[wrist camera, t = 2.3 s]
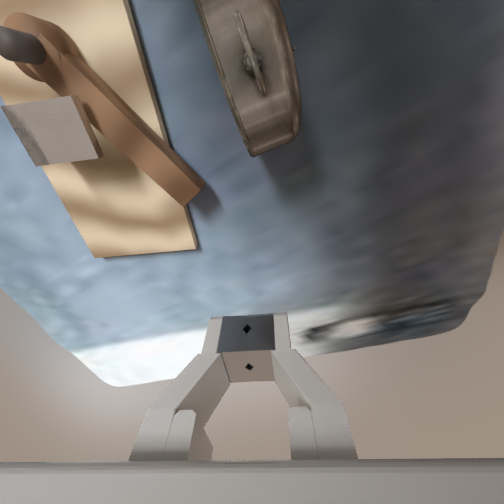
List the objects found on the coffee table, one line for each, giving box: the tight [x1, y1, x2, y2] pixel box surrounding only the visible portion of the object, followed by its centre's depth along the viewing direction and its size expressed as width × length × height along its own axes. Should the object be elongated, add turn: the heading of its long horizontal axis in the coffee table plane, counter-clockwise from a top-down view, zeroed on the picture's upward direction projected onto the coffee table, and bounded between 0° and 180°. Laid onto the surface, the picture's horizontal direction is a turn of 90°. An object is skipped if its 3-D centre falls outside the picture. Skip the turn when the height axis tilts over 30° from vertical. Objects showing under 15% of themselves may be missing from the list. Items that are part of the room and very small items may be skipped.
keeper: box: [1, 96, 104, 166], centre depth 23 cm, size 5×6×4 cm
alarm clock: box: [193, 0, 301, 157], centre depth 17 cm, size 11×5×16 cm, turn 20°
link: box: [0, 12, 205, 207], centre depth 23 cm, size 19×4×5 cm, turn 42°
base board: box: [0, 0, 198, 258], centre depth 27 cm, size 26×15×1 cm, turn 7°
